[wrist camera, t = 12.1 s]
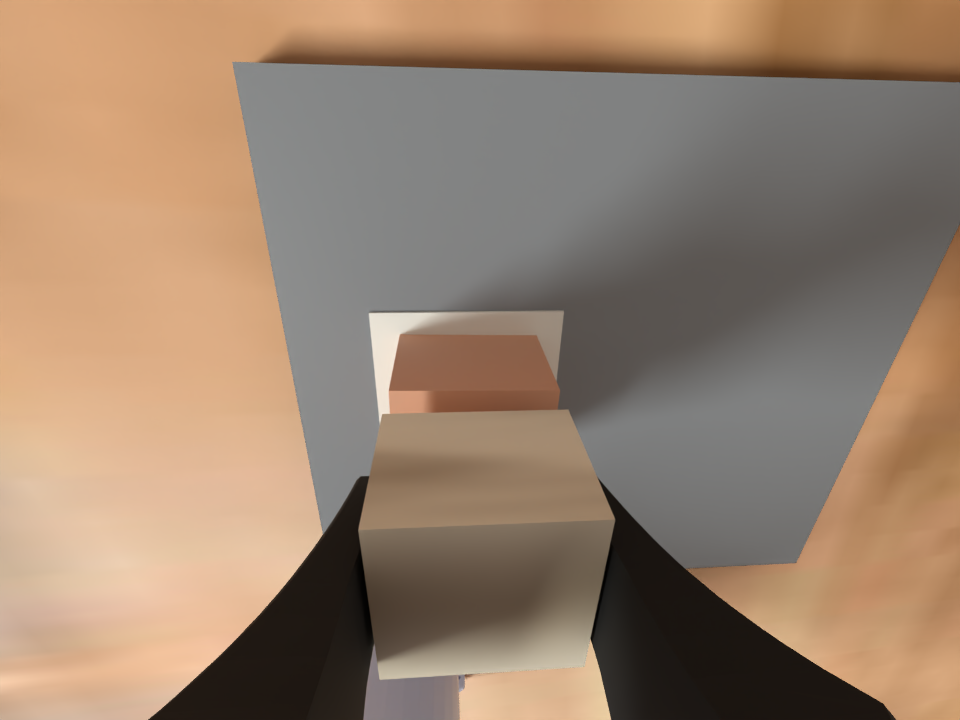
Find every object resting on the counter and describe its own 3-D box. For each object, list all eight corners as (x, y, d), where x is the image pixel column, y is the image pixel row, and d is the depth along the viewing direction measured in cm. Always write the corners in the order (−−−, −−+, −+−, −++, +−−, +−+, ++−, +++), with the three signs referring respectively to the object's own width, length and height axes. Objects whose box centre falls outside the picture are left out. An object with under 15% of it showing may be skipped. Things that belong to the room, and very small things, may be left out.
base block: (525, 444, 18) (543, 514, 15) (404, 445, 18) (396, 518, 14) (536, 335, 16) (559, 390, 13) (399, 334, 15) (388, 390, 12)
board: (779, 543, 24) (797, 564, 22) (338, 563, 22) (332, 587, 21) (984, 86, 14) (1030, 84, 13) (249, 66, 13) (231, 61, 12)
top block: (551, 539, 14) (584, 666, 11) (394, 546, 13) (379, 679, 10) (568, 409, 12) (615, 519, 8) (382, 413, 11) (358, 529, 8)
